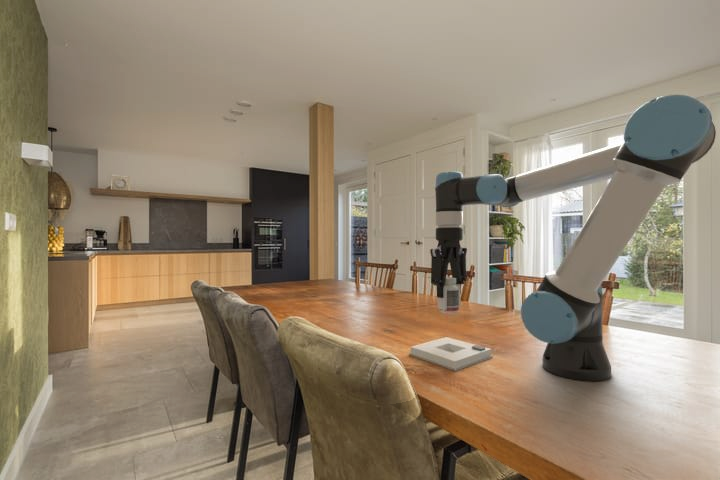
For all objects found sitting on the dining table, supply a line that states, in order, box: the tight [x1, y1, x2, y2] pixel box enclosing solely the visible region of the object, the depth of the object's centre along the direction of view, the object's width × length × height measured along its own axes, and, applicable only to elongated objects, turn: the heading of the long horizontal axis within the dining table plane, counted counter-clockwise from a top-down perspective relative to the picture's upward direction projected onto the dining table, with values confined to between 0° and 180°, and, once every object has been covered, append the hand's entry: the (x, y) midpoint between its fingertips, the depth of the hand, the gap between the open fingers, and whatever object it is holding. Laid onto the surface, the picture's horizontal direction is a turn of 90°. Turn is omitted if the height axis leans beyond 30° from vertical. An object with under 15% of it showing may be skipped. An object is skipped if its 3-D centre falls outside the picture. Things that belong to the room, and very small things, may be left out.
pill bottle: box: [439, 276, 460, 314], centre depth 105 cm, size 5×5×10 cm
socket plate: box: [408, 336, 493, 372], centre depth 105 cm, size 17×17×3 cm
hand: (449, 307), depth 105 cm, fingers closed on pill bottle, 5 cm apart
